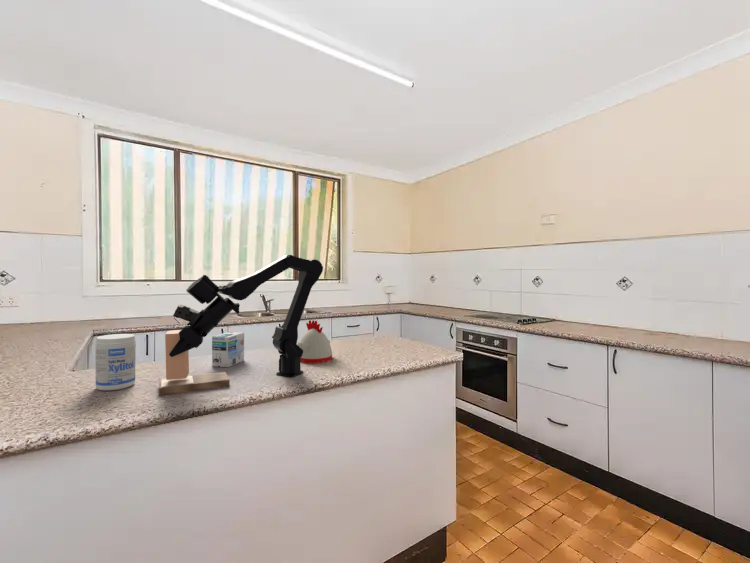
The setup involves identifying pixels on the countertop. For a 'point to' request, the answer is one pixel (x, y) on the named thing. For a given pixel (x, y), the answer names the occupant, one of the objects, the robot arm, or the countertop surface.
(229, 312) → the robot arm
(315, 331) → the kitchen timer
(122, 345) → the supplement tub
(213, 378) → the base board
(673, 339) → the countertop surface
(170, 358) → the pillar
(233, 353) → the light bulb box
